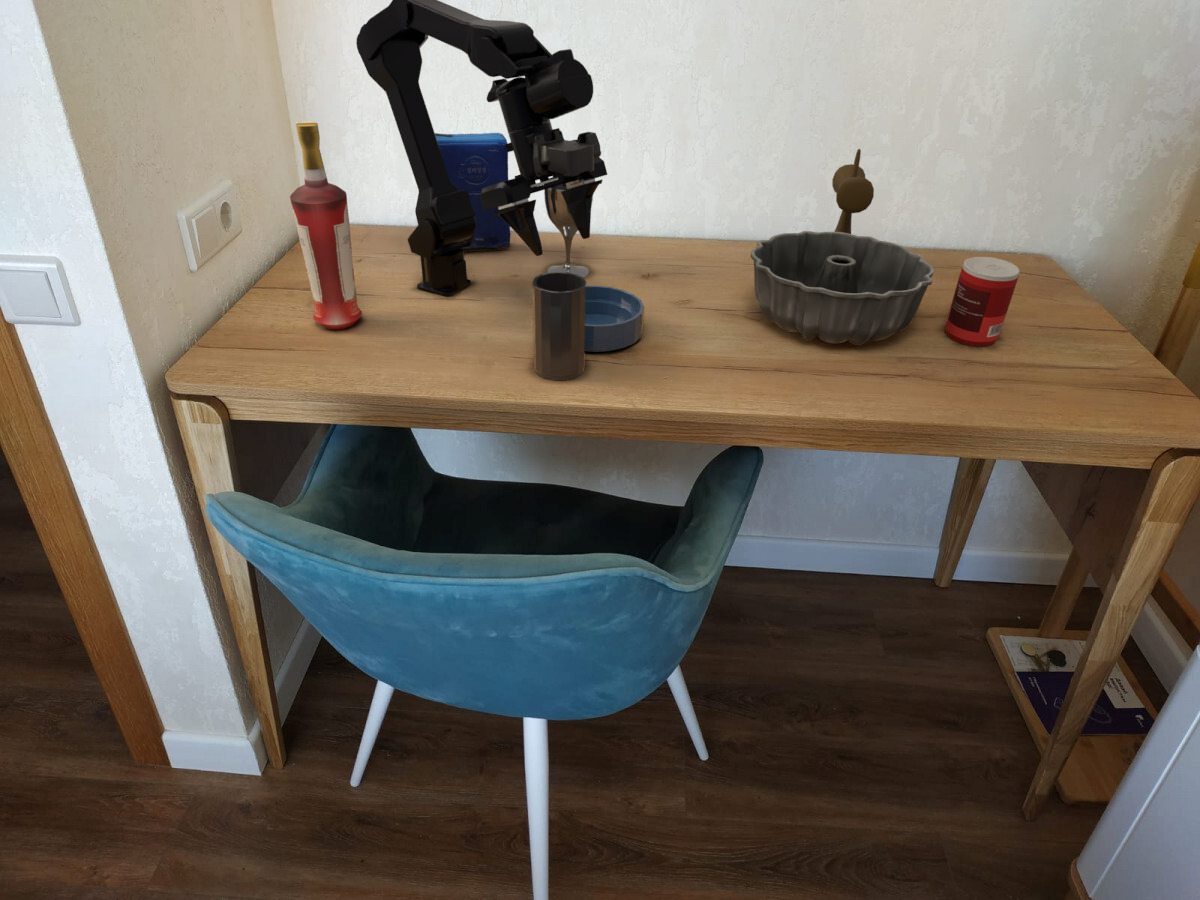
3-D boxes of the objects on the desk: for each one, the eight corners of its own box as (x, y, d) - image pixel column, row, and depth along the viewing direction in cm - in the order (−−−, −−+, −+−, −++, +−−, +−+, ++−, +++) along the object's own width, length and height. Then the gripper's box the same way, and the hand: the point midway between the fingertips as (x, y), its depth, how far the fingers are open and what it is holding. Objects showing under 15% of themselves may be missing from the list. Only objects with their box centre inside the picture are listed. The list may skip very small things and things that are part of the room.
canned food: (996, 329, 127) (1018, 260, 121) (998, 351, 121) (1022, 280, 115) (943, 320, 129) (962, 253, 123) (943, 342, 123) (963, 272, 116)
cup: (524, 372, 112) (522, 285, 105) (550, 352, 117) (550, 268, 110) (568, 385, 109) (569, 296, 102) (593, 364, 114) (595, 278, 107)
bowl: (528, 340, 119) (528, 311, 117) (576, 305, 130) (576, 278, 127) (615, 364, 114) (616, 334, 112) (657, 326, 125) (659, 298, 122)
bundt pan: (748, 279, 141) (755, 221, 135) (908, 296, 137) (923, 237, 131) (737, 348, 119) (746, 283, 114) (927, 371, 115) (946, 304, 109)
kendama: (822, 273, 144) (844, 155, 133) (816, 253, 152) (837, 140, 140) (857, 276, 143) (882, 157, 132) (850, 256, 151) (873, 142, 140)
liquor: (315, 313, 125) (280, 118, 109) (365, 310, 126) (337, 117, 110) (311, 335, 119) (273, 131, 103) (364, 331, 120) (334, 130, 105)
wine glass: (585, 282, 137) (587, 192, 129) (539, 277, 139) (538, 187, 130) (595, 265, 144) (597, 178, 136) (551, 260, 145) (550, 174, 137)
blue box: (431, 256, 145) (420, 138, 134) (430, 245, 150) (419, 130, 138) (512, 252, 148) (509, 136, 137) (509, 242, 152) (505, 128, 141)
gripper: (516, 124, 96) (554, 256, 101) (620, 101, 108) (650, 221, 113) (460, 146, 104) (499, 268, 109) (563, 123, 116) (593, 233, 121)
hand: (563, 246), depth 113 cm, fingers open, 9 cm apart
